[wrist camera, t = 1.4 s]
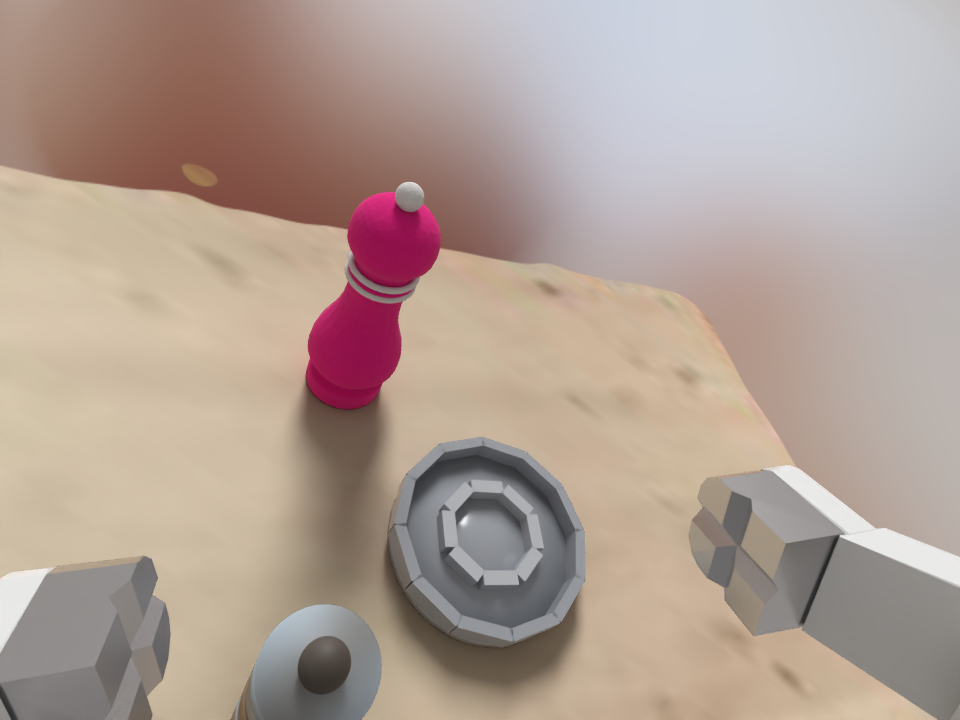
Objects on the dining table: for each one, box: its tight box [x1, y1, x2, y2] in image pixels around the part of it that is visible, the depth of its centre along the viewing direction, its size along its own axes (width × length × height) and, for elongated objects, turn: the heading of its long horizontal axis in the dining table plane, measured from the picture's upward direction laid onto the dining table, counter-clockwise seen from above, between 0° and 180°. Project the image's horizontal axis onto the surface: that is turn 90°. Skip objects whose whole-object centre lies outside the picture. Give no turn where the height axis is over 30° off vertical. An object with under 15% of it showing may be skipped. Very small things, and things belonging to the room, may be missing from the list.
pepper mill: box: [306, 182, 441, 409], centre depth 40 cm, size 7×7×20 cm
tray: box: [388, 437, 585, 648], centre depth 42 cm, size 15×15×3 cm
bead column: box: [231, 604, 382, 720], centre depth 25 cm, size 4×4×17 cm
